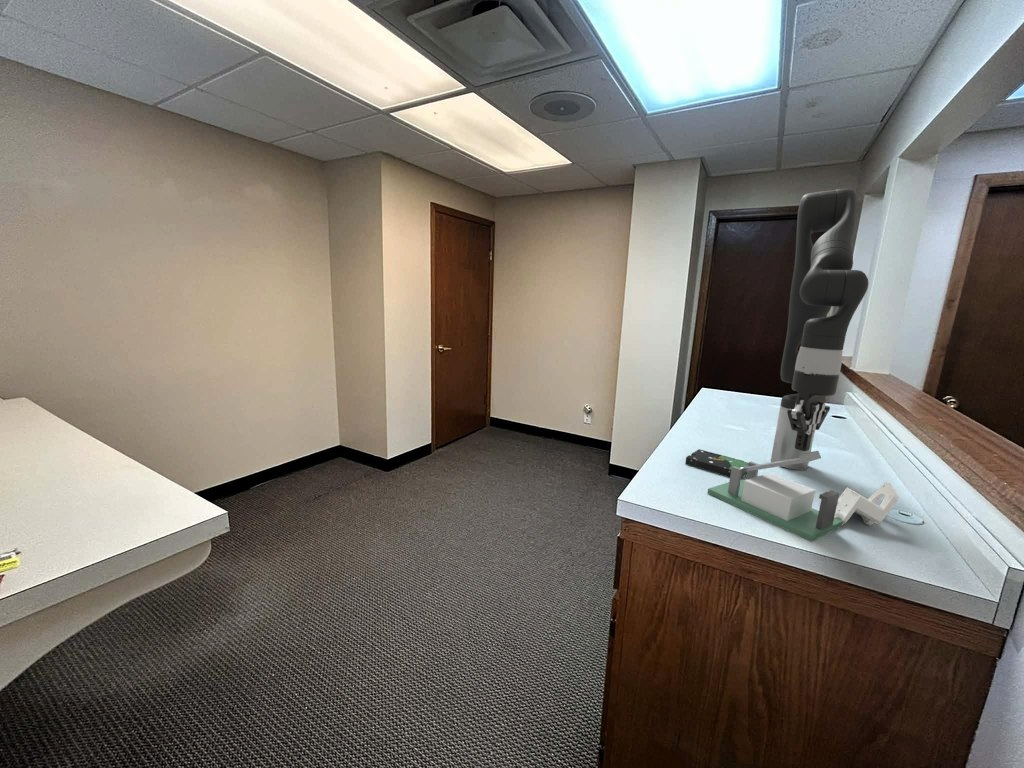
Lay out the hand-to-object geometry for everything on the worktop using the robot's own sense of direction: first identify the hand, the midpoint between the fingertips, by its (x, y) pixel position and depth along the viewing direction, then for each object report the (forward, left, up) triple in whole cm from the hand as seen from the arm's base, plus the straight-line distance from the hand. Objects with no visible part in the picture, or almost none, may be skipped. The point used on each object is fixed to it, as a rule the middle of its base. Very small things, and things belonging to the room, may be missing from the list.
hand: (801, 449), depth 88 cm
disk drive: (-12, -25, -16) cm, 32 cm away
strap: (0, -4, -6) cm, 7 cm away
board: (0, -4, -16) cm, 16 cm away
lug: (0, +6, -14) cm, 16 cm away
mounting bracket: (-14, +8, -16) cm, 22 cm away
